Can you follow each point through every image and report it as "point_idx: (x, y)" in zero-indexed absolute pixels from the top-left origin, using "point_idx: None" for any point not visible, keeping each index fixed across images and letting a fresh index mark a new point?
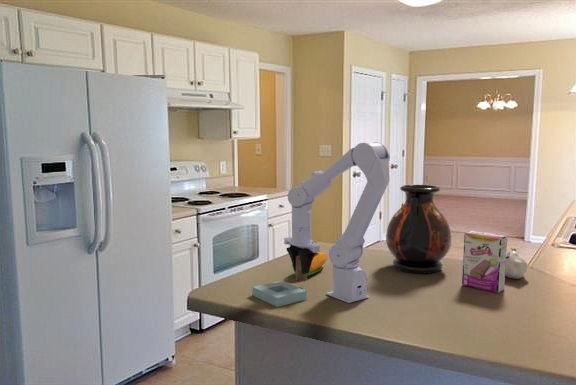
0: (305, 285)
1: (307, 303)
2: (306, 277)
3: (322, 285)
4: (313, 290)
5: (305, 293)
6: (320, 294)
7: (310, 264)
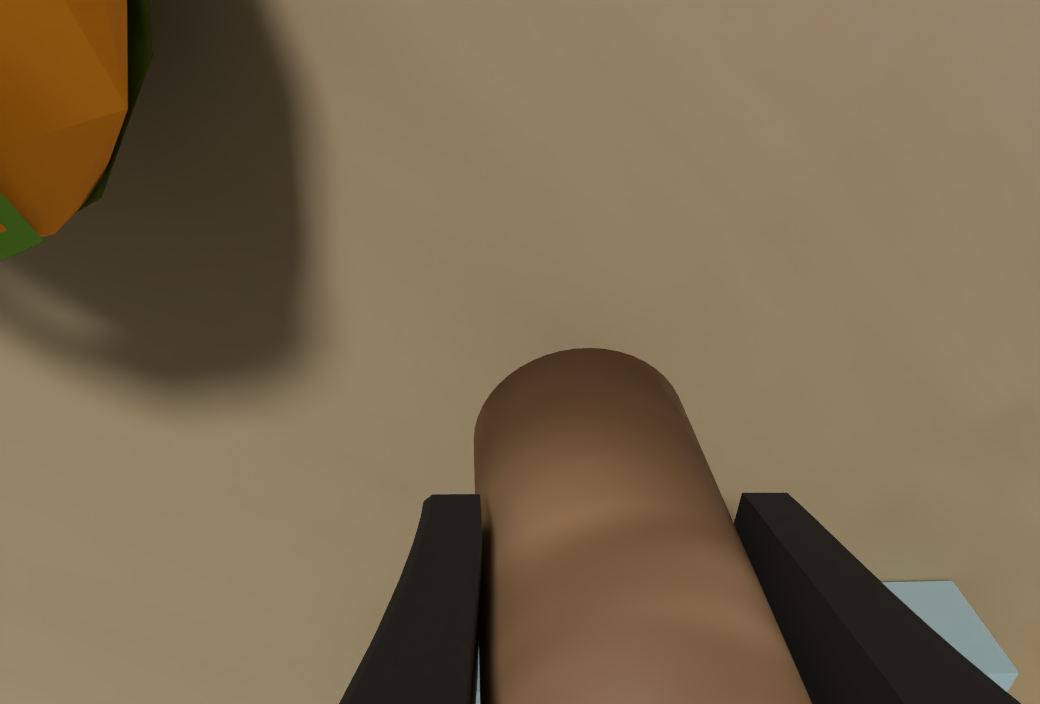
0: (543, 267)
1: (1022, 622)
2: (697, 440)
3: (767, 15)
4: (814, 327)
5: (992, 654)
6: (1001, 361)
7: (937, 654)
